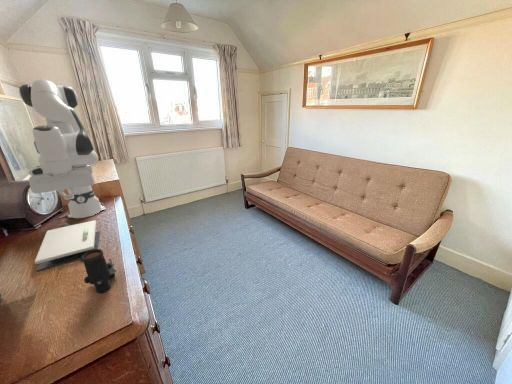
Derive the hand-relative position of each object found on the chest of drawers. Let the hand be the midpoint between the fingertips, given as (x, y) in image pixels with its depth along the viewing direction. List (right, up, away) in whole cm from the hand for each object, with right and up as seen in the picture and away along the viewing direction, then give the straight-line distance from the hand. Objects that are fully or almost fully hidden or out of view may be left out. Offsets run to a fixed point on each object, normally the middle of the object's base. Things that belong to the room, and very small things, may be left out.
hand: (69, 198), depth 92 cm
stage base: (-1, -23, +3) cm, 23 cm away
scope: (+28, -30, -19) cm, 45 cm away
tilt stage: (-1, -18, +1) cm, 18 cm away
